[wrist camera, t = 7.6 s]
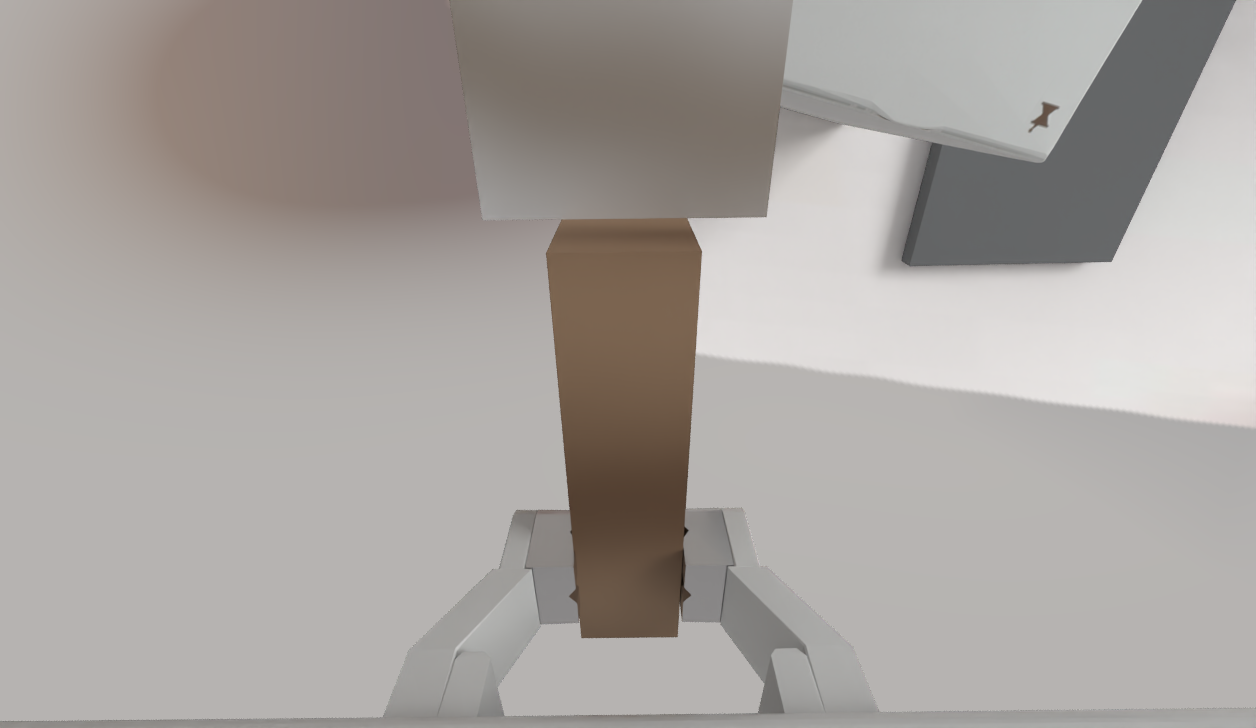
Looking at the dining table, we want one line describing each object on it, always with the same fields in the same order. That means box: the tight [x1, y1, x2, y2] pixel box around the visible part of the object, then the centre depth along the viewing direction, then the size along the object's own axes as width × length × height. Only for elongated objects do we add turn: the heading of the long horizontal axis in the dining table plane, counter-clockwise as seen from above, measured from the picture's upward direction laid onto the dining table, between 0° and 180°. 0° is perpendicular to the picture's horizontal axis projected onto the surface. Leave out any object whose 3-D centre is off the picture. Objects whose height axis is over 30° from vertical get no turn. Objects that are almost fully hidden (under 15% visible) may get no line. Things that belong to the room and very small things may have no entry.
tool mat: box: [902, 0, 1236, 266], centre depth 25 cm, size 20×12×1 cm, turn 1°
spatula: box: [449, 0, 793, 638], centre depth 9 cm, size 14×5×3 cm, turn 1°
